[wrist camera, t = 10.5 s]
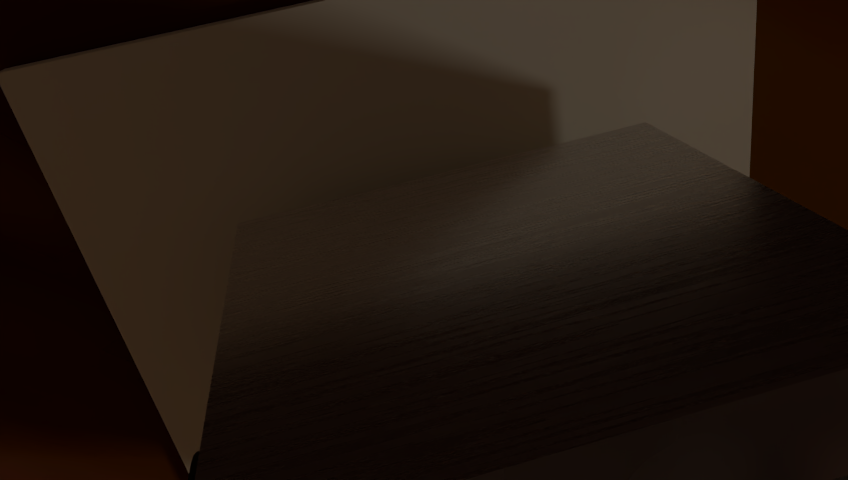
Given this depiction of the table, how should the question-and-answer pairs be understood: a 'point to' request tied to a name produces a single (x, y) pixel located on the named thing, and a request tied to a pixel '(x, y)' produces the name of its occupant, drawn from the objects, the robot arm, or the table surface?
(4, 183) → the table surface
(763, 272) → the hollow square tube
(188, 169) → the rubber pad
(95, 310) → the table surface
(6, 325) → the table surface
